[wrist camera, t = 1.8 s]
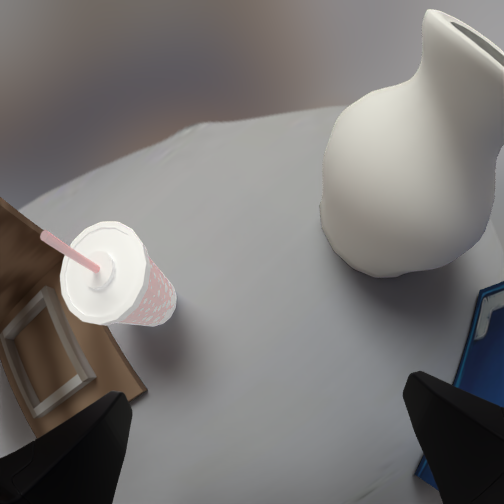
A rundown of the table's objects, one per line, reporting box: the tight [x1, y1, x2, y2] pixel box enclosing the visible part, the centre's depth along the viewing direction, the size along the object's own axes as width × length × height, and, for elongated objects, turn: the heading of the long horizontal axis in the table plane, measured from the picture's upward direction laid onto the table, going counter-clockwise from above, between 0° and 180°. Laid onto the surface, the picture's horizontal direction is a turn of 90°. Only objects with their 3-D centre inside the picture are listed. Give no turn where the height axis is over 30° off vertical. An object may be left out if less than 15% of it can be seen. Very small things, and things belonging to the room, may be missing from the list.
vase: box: [319, 9, 504, 278], centre depth 15 cm, size 14×14×20 cm
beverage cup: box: [40, 222, 177, 327], centre depth 15 cm, size 6×6×14 cm
